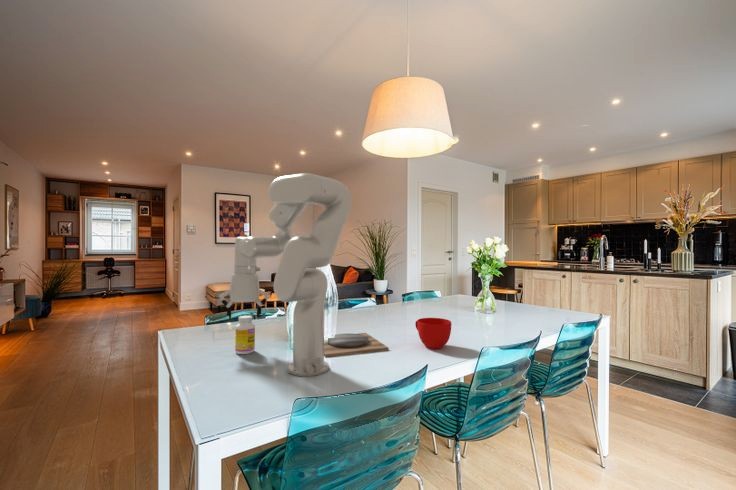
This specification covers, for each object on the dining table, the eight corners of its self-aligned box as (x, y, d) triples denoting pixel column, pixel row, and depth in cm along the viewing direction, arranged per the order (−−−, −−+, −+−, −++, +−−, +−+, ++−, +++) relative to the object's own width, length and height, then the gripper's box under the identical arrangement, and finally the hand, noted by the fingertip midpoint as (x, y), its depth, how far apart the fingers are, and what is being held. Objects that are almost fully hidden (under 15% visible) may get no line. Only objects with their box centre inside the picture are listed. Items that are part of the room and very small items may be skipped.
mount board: (388, 350, 130) (388, 343, 130) (325, 357, 121) (325, 350, 121) (365, 335, 152) (365, 329, 152) (311, 340, 144) (311, 334, 144)
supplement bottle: (248, 355, 123) (248, 319, 123) (231, 354, 124) (231, 318, 124) (258, 350, 129) (258, 315, 130) (241, 348, 131) (242, 314, 131)
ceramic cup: (427, 338, 147) (427, 314, 147) (458, 348, 133) (458, 322, 133) (403, 343, 140) (404, 318, 140) (433, 354, 126) (433, 326, 126)
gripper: (268, 269, 134) (267, 314, 134) (219, 269, 128) (218, 316, 128) (270, 271, 127) (269, 318, 127) (219, 271, 121) (217, 320, 121)
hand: (244, 317), depth 127 cm, fingers open, 9 cm apart
